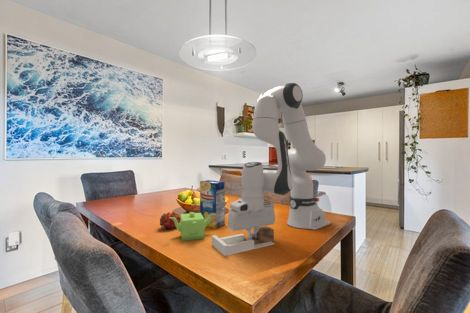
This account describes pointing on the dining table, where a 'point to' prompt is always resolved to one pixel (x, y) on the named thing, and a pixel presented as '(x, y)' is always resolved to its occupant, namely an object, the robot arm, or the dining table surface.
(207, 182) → the beverage box
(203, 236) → the kettle
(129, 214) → the dining table surface
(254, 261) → the dining table surface
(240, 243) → the shallow white tray
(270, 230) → the block
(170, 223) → the dark red lumpy cluster
